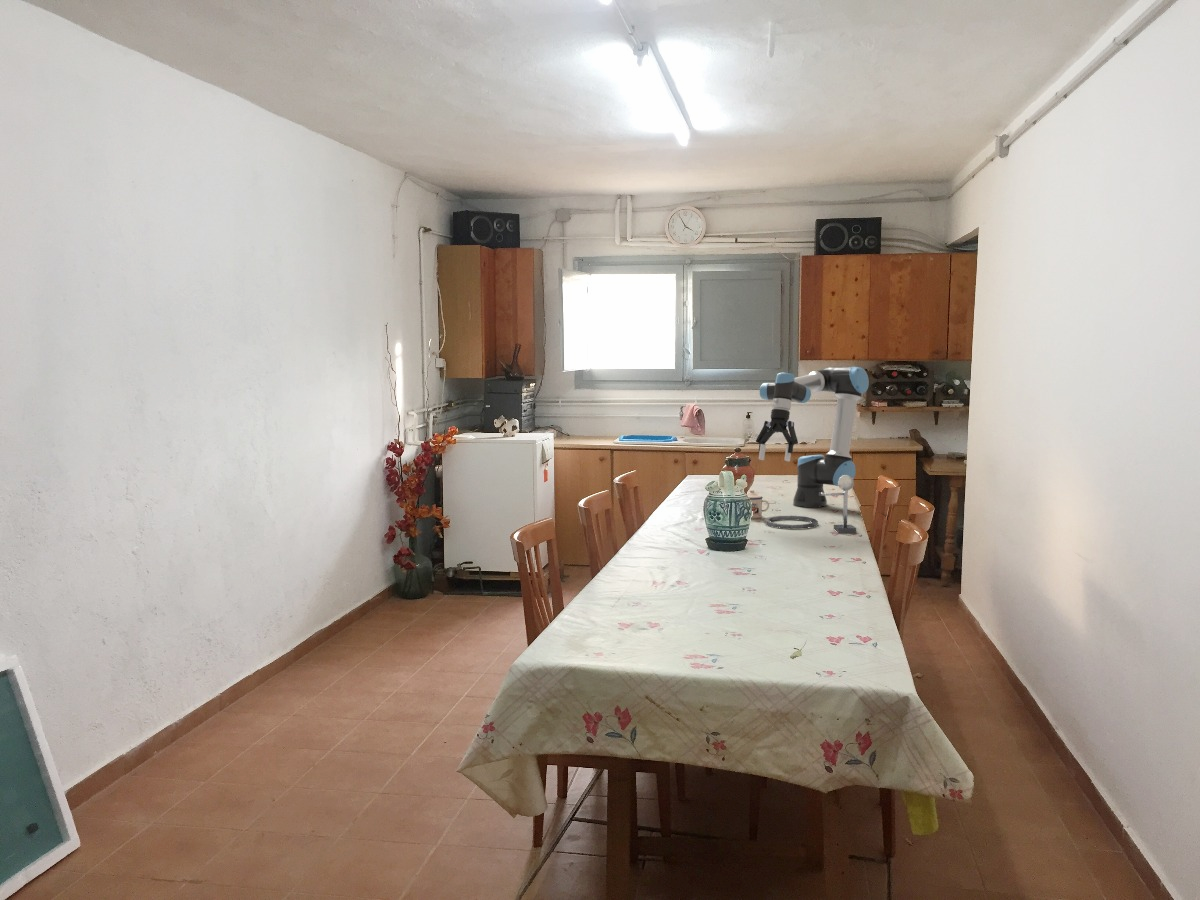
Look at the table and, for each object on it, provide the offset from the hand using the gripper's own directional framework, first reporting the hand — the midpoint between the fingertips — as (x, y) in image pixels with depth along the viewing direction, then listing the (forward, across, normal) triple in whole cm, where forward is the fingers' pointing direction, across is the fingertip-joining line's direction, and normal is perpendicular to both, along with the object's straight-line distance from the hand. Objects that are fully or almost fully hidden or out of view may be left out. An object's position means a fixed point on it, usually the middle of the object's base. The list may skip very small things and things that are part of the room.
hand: (773, 460), depth 372 cm
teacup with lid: (+23, -16, +12) cm, 31 cm away
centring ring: (+25, +4, +11) cm, 27 cm away
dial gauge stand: (+26, +26, +12) cm, 38 cm away
